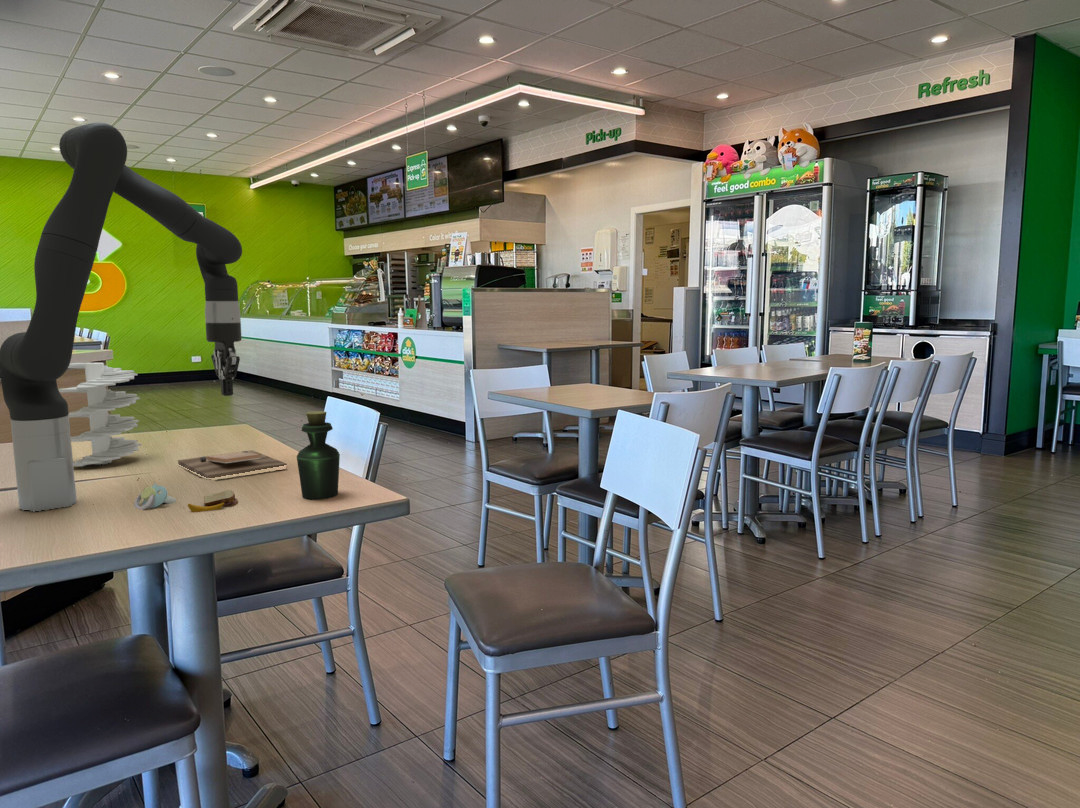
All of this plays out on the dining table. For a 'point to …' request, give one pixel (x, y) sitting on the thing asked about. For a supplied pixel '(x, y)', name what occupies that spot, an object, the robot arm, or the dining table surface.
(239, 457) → the flip tile
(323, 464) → the potion bottle
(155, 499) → the pacifier
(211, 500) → the toy sandwich meal
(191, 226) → the robot arm
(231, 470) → the board
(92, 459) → the spiral staircase
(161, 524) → the dining table surface
